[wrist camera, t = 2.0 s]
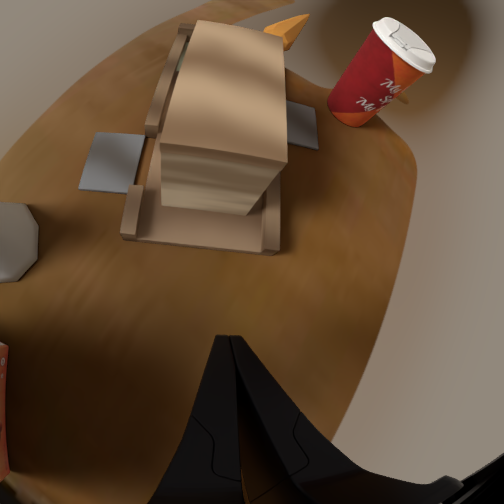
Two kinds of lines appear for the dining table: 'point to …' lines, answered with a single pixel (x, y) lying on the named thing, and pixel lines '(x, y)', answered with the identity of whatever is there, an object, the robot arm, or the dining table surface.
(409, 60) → the paper cup
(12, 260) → the flask
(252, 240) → the tan shallow tray
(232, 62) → the tea box
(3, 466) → the cracker box
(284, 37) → the carrot
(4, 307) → the dining table surface
